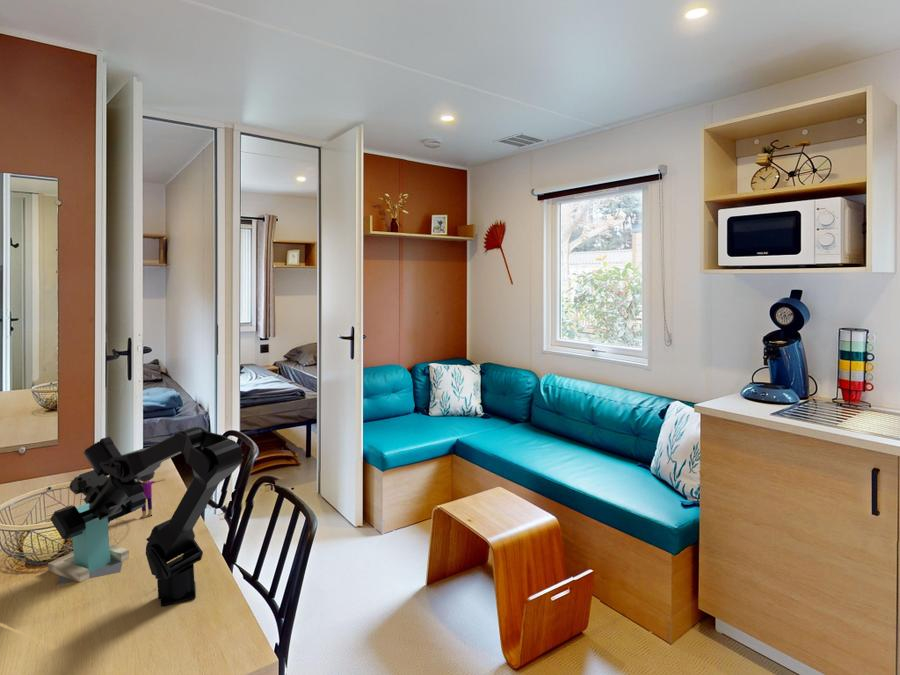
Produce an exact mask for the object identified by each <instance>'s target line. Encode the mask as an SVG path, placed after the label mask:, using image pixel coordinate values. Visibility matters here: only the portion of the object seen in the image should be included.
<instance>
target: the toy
mask: <svg viewBox="0 0 900 675" xmlns="http://www.w3.org/2000/svg"><path fill="white" fill-rule="evenodd" d="M155 474H156V472H155V471H154V472H152V473H150V474H147V475H145V476H142V477H139V479H140V481H141V483H142V485H143V487H144V492H143V494H144V495H145V497H146V503H145V505H144V506H143V507H142V508H141V513H142V514H141V517H142V518H143V519H145V518H146V517H147V515H148V516H149V517H152V516H153V505H152V504H153V499H152V497H153V493H152V491H153V490H152V485H153V484H156V483H160V482H163V481H166V478H161V479H157V480H153V481H151V480H152V479H153V478H154V476H155ZM146 511H148V513H147V512H146ZM151 515H152V516H151Z"/></svg>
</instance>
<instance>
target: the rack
mask: <svg viewBox="0 0 900 675" xmlns="http://www.w3.org/2000/svg"><path fill="white" fill-rule="evenodd" d="M109 546H110V558H111V559H115V560H118V561H121V562H122V561H125V560H127V559H128V560H129V559H130V549H128V548H126V547H125V548H124V547H121V546H118V545H114V544H111V543H109ZM122 563H123V562H122ZM47 565H48V566H47V567H48V572H49V573H52V574H54V575H57V576H63V577H66V578H69V579H72V580H75V581H74V582H78V583H82V582H84V581H86V580H89V579H90V578H89V569H87V568H83V567H80V566H77V565H74V551H72V552H70V553H68V554H66V555H63V556H61V557H59V558H56V559H54V560H52V561H50V562H48V563H47Z"/></svg>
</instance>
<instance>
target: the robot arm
mask: <svg viewBox="0 0 900 675" xmlns="http://www.w3.org/2000/svg"><path fill="white" fill-rule="evenodd" d="M197 447H200V449H197ZM180 454H182V455H183V457H184V459H185V463H186V464H187V465H189V466H190V467H191V469H192V472H193V478H192V480H191V482H190V484H189V486H188V487H187V489H186V491H185V493H184V495H183V496H182V498H181V500H180V502H179V503H178V505H177V507H176V509H175V511H174V513H173V514H172V516H171V518H169V519H168V520H166V521H163V522H161V523H159V524H157V525H154V527H153V528H152V529H151V533H150V534H149V536H148V537H147V538H146V539H145V540H146V542H147V543H146V545H145V556H146V559H147V563H148V567H149V571H150V573H151V575H152V576H154V577H155V579H156V580H157V581H156V582H157V584H156V586H157V599H158V600H160V606H161V607H164V606H168V605H169V606H170V605H173V604H177V603H182V602H186V601H187V602H188V601H190V600H194V599H196V597H197V596H196V594H197V592H196V581H195V566H194V564H196V563H197V562H200V561H202V558H203V554H204V553H203V552H204V551H203V550H202V549H201V547H200V546H199V544H198V543H197V541H196V539H195V537H196V534H195V531H194V527H195V526H196V524H197V522H198V521H199V518H200V517H201V515H202V514H203V512H204V510H205V509H206V506H207V505H208V503H209V502H210V500H211V499H212V496H213V495H214V494H215V492H216V489H217V488H218V486H219V484H220V483H221V482H223V480H225V479H226V478H228V477H229V476H231V474H232V473H234V472H235V471H236V469H237V468H238V467H239V466H240V465H241V464H242V462H243V460H244V455H243V450H242V447H241V445H240V444H238V443H237V442H236V441H235V440H234V439H231V438H228V437H227V436H226V435H222V434H218V433H215V432H210V431H207V430H206V429H204V428H202V427H201V426H192V427H189V428H185V429H182V430H179V431H177V432H176V433H175V434H174V435H172V436H169V437H167V438H165V439H163V440H161V441H159V442H157V443H155V444H153V445H151V446H148V447H144V448H140V449H137V450H134V451H130V452H127V453H124V454H122V453H121V452H120V451H119V448H117V446H116V445H115V443H114V441H113V439H112V438H111V436H107V437H103V438H100V439H99V441H97V442H95V443H93V444H92V445H90V446H89V447H87V448H85V450H84V452H83V455H84V457H85V459H86V460H87V461H88V463H89V464H90V465H91V468H93V469H92V470H89V471H86V472H83V473H81V474H79V475H77V476H75V477H74V479H73V480H71V482H70V484H69V490H70V491H71V492H72V493H73V494H75V495H79V494H83V495H84V496H85V497H84V499H83V502H84V503H85V504H88V503H89V504H90V505H89V510H87V511H84V512H82V513H79V511H78V510H77V507H76V506H75V505H73V504H71V505H68V506H65V507H63V508H59V509H58V510H55V511H54V512H53V513H52V515H51V516H50V518H49V519H50V521H51V522H52V525H53V526H54V528H55V530H56V531H57V533H58V535H60V537H61V539H63V540H65V541H68V540H69V539H73V538H72V537H75V536H77V535H79V534H82V533H83V531H84V530H85V529H86V523H87V522H89V521H92V520H94V519H97V518H99V520H102V519H105V518H107V517H108V523H109V522H112V521H114V520H117V519H119V518H122V517H124V516H126V515H129V514H131V513H133V512H136V511H137V510H139V509H142V507H143V506H144V505H145V503H146V504H147V499H146V497H145V495H144V494H143V492H144V487H143V485H142V481H140V479H139V477H142V476H145V475H147V474H150V473H152V472H155V471H156V470H158V469H159V468H160V467H161V465H162V463H163V462H165V461H167V460H169V459H171V458H174V457H175V456H178V455H180Z"/></svg>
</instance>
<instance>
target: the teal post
mask: <svg viewBox="0 0 900 675" xmlns="http://www.w3.org/2000/svg"><path fill="white" fill-rule="evenodd" d="M89 505H90V504H89V503H88V504H86V503H85V504H81V505H80V506H77V507H76V508H77V510H78V511H79V513H82V512H84V511H87V510H89ZM71 539H72V548H73V550H72V552H74V564H75V565H77V566H80V567H83V568H87V569H89V573H90V572H92V571H94V570H96V569H98V568H100V567H102V566H104V565H106V564H108V563H110V562H111V561H110V546H109V544H110V536H109V522H108V517H107V518H105V519H102V520H99V518H97V519H94V520H92V521H89V522H87V523H86V529H85V530H84V531H83V533H82V534H79V535H77V536H75V537H72V538H71Z"/></svg>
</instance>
